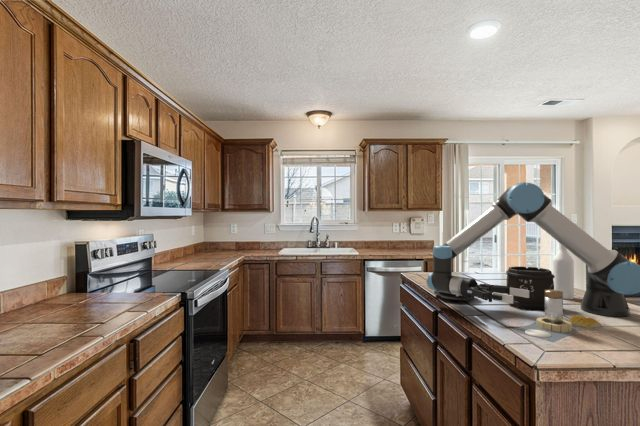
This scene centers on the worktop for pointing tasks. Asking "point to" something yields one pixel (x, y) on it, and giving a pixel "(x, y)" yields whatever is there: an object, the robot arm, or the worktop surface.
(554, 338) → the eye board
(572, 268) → the bottle
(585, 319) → the bread roll
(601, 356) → the worktop surface
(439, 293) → the casserole
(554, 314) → the jar with brown lid
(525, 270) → the labelled black crock
